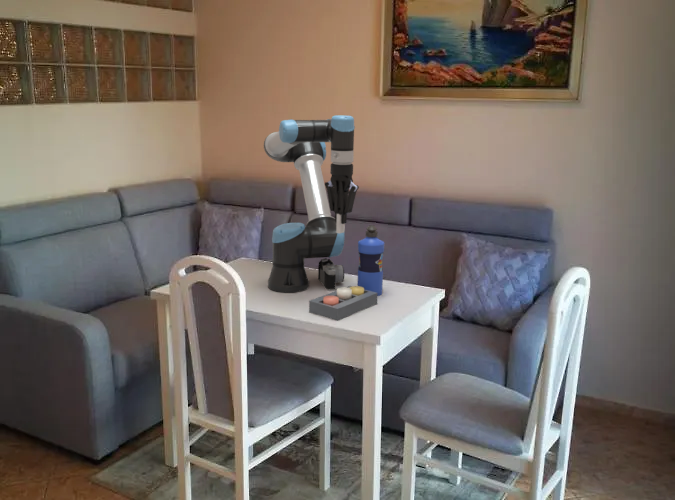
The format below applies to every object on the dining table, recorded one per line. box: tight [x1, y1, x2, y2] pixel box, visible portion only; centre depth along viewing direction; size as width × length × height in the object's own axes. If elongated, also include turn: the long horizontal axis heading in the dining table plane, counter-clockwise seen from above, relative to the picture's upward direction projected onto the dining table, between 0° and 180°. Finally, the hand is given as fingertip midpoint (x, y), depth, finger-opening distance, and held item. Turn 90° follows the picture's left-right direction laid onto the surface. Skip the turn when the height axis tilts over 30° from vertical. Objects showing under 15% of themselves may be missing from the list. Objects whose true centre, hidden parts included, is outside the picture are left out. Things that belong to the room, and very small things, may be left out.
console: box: [308, 285, 379, 322], centre depth 226 cm, size 12×22×4 cm, turn 141°
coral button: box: [323, 296, 339, 306], centre depth 220 cm, size 5×5×3 cm
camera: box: [317, 257, 345, 292], centre depth 251 cm, size 16×9×10 cm, turn 14°
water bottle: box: [356, 224, 385, 297], centre depth 240 cm, size 9×9×25 cm
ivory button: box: [336, 286, 352, 301], centre depth 225 cm, size 5×5×3 cm
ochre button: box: [350, 285, 364, 296], centre depth 231 cm, size 5×5×3 cm
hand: (340, 232), depth 228 cm, fingers closed
